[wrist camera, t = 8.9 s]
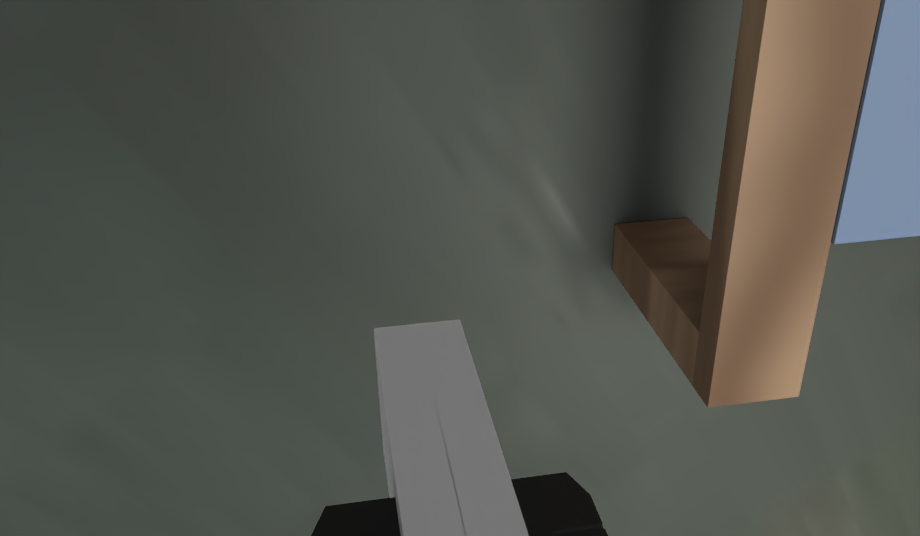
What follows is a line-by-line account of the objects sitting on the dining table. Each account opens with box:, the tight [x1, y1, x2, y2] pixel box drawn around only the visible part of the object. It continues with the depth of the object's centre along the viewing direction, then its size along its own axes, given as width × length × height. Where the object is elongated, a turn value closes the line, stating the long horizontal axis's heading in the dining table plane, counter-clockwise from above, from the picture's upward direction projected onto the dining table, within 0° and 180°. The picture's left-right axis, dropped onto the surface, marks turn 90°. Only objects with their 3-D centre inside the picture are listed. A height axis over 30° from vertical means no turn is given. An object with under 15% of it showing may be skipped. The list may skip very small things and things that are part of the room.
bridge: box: [612, 0, 881, 408], centre depth 27 cm, size 3×14×9 cm, turn 1°
